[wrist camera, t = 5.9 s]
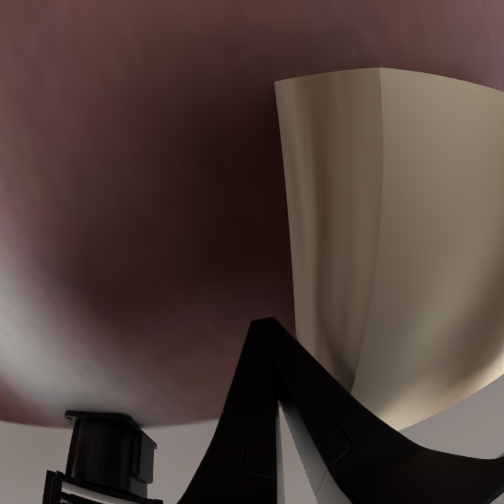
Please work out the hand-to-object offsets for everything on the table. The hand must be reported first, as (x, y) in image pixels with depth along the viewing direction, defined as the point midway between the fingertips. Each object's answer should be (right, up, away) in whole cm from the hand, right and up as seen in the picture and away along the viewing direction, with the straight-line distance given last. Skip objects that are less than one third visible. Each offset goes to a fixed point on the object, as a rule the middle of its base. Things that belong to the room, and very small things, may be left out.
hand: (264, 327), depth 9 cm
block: (+6, +4, +3) cm, 8 cm away
